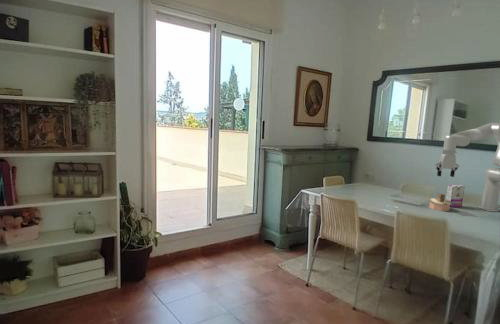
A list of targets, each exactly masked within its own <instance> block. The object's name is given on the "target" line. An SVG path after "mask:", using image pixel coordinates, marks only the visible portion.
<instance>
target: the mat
mask: <svg viewBox="0 0 500 324" xmlns="http://www.w3.org/2000/svg"><path fill="white" fill-rule="evenodd" d="M452 212H453V213H455V214H457V215H459V216H462V217H478V216H477V215H476V214H473V213H471V212H469V211H465V210H463V211H460V210H452Z"/></svg>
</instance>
